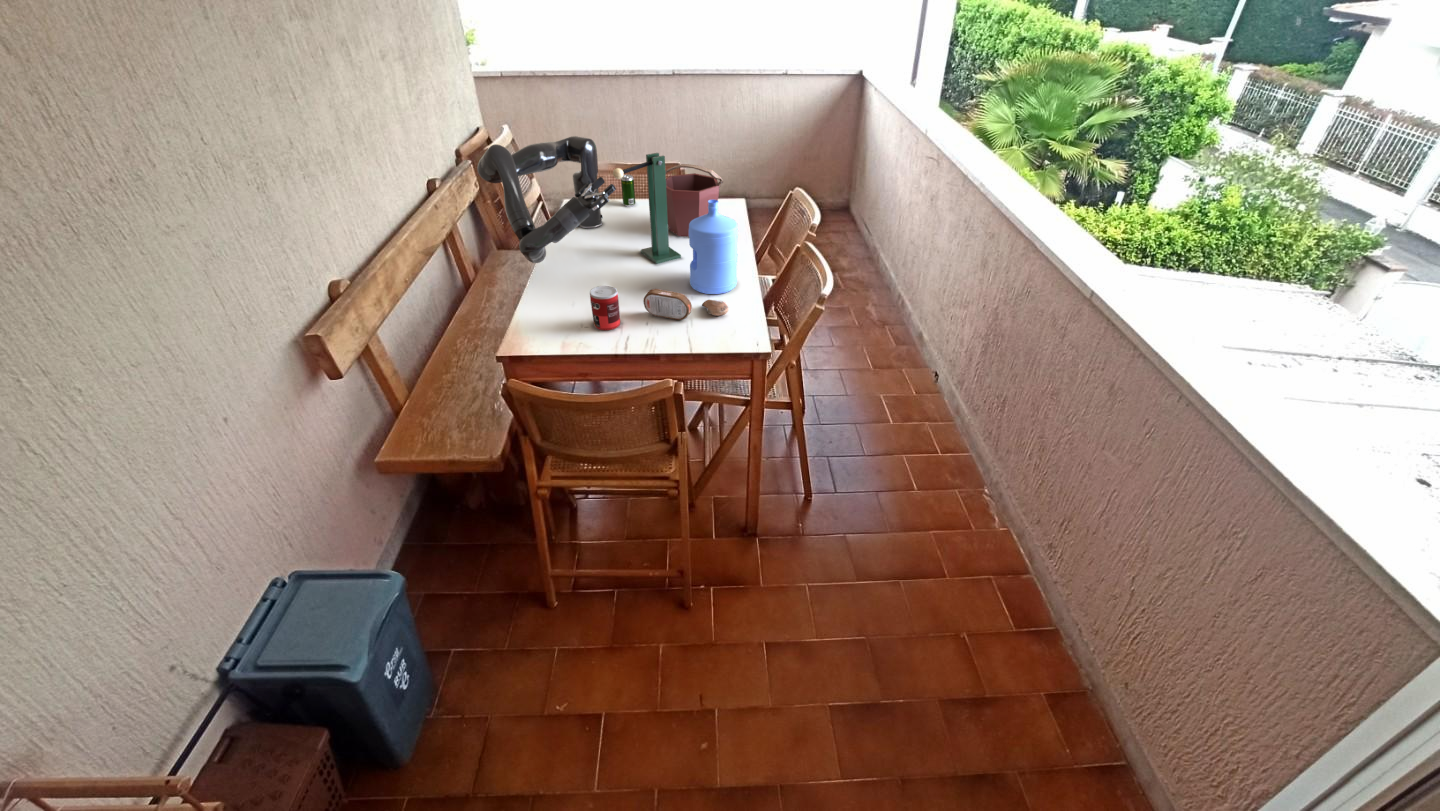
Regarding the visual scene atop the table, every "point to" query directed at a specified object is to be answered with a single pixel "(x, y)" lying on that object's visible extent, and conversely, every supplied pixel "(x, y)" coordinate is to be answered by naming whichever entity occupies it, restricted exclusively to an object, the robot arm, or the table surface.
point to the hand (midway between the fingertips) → (608, 182)
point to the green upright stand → (658, 212)
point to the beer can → (628, 190)
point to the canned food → (605, 307)
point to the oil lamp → (715, 307)
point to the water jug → (713, 252)
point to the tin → (667, 304)
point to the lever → (630, 169)
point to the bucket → (689, 197)
